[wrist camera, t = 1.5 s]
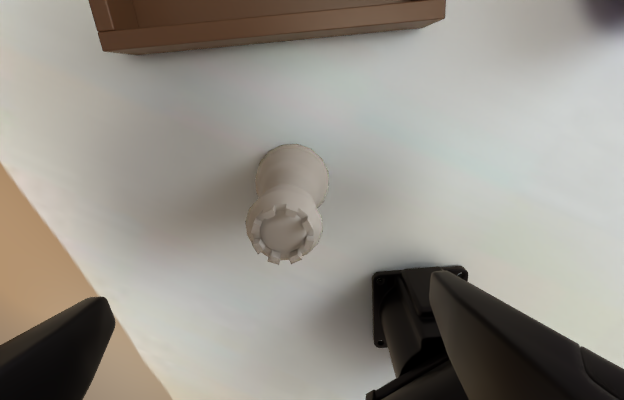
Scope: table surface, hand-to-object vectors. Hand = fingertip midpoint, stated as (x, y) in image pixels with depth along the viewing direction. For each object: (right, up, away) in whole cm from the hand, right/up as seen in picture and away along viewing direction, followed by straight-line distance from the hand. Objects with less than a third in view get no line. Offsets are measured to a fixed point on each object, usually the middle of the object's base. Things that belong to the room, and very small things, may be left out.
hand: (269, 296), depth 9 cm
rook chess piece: (0, +4, +12) cm, 12 cm away
